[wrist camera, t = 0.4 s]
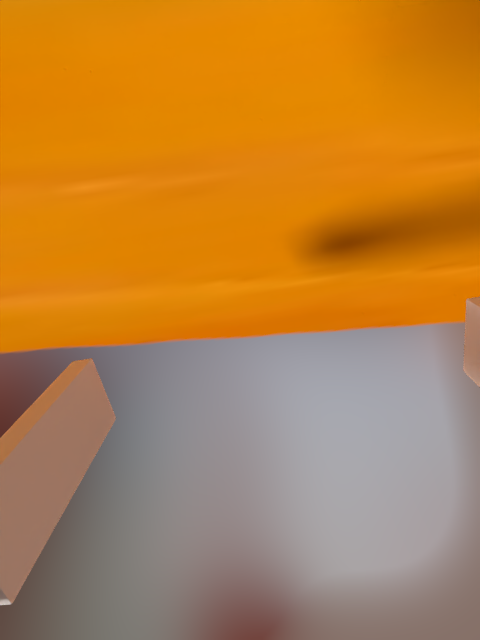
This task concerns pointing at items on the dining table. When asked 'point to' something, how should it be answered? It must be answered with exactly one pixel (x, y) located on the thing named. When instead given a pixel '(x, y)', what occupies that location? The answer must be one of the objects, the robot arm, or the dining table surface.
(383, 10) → the dining table surface
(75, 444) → the robot arm
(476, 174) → the dining table surface
